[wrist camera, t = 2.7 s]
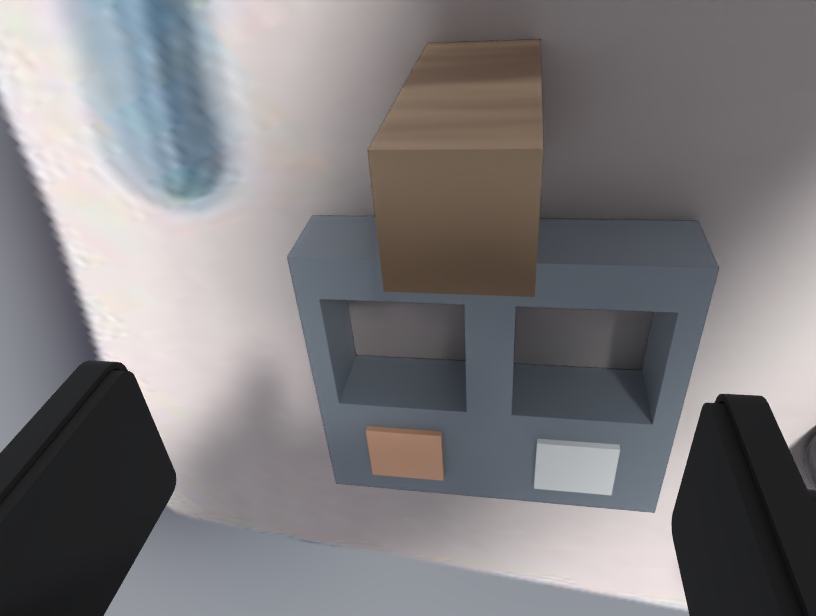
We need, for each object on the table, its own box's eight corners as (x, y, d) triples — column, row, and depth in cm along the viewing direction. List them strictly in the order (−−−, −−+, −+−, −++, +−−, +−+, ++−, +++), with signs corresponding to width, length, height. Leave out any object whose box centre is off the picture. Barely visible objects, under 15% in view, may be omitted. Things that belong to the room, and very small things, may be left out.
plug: (427, 43, 22) (367, 150, 14) (540, 39, 22) (543, 148, 14) (432, 149, 25) (383, 291, 17) (534, 149, 24) (534, 296, 16)
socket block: (312, 215, 27) (284, 260, 24) (698, 220, 25) (721, 272, 22) (351, 434, 35) (334, 488, 32) (644, 456, 33) (655, 518, 30)
